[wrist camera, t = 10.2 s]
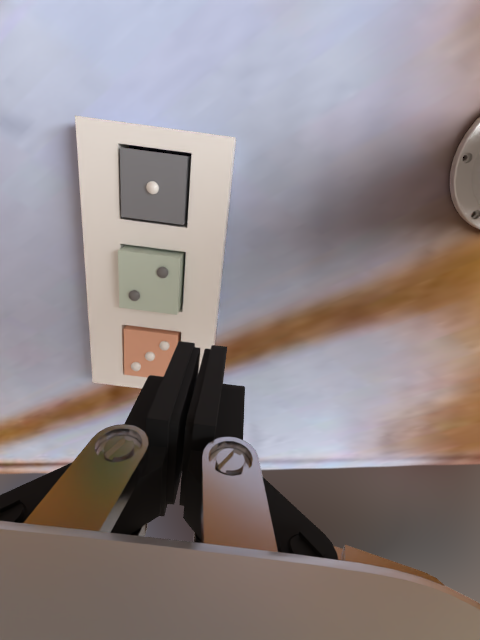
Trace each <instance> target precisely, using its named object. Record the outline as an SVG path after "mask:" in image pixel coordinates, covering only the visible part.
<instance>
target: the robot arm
mask: <svg viewBox="0 0 480 640" xmlns="http://www.w3.org/2000/svg"><path fill="white" fill-rule="evenodd" d="M463 156H465V158H464V160H463ZM450 192H451V198H452V201H453V203H454V206H455V208H456V210H457V212H458V213H459V214H460V216H461V217H462V218H463V219H464V220H465V221H466V222H467V223H469V224H470V225H471V226H473V227H475V228H477V229H479V230H480V117H479V118H478V119H477V120H476V121H475V122H474V123H473V125H472V126H471V127H470V129H469V130H468V131H467V132H466V134H465V136H464V137H463V139H462V141H461V143H460V144H459V146H458V148H457V151H456V154H455V156H454V159H453V162H452V167H451V172H450ZM472 213H473V214H472ZM471 214H472V215H471ZM226 352H227V347H223V346H215V345H212V346H211V349H206V348H205V350H204V354H203V358H202V362H201V365H200V369H199V360H200V348H198V347H195V343H191V342H183V341H179V342H178V344H177V346H176V349H175V351H174V353H173V356H172V358H171V361H170V363H169V365H168V368H167V370H166V372H165V375H164V377H162V376H154V375H150V376H148V378H147V380H146V382H145V384H144V386H143V388H142V390H141V392H140V394H139V396H138V398H137V400H136V402H135V404H134V406H133V408H132V410H131V412H130V414H129V416H128V418H127V420H126V422H125V424H123V425H114V426H111V427H108V428H106V429H104V430H102V431H100V432H99V433H97V434H96V435H95V436H94V437H93V438H92V439H91V441H90V442H89V443H88V444H87V446H86V447H85V448H84V449H83V450H82V452H81V453H80V454H79V455H78V457H77V458H76V459H75V460H74V461H73V462H72V463H70V464H68V465H66V466H64V467H61V468H59V469H57V470H55V471H53V472H50V473H48V474H46V475H44V476H42V477H39V478H37V479H35V480H33V481H31V482H29V483H26V484H24V485H22V486H20V487H17V488H15V489H13V490H11V491H9V492H7V493H4V494H2V495H0V640H480V603H478V602H476V601H475V600H473V599H471V598H469V597H467V596H465V595H463V594H461V593H458V592H456V591H455V590H452V589H451V588H449V587H447V586H445V585H444V584H442V583H441V582H440V581H439V580H438V579H437V578H435V577H433V576H431V575H429V574H427V573H425V572H422V571H419V570H416V569H414V568H411V567H408V566H405V565H402V564H399V563H396V562H393V561H390V560H388V559H384V558H382V557H379V556H376V555H373V554H370V553H367V552H364V551H362V550H358V549H356V548H353V547H350V546H347V545H345V546H344V549H341V548H338V547H335V546H333V544H332V543H331V542H330V540H329V539H328V538H327V537H326V535H325V534H324V533H323V532H321V531H320V530H319V529H318V528H317V527H316V526H315V525H314V524H313V523H312V522H311V521H309V520H308V519H307V518H306V517H305V516H304V515H303V514H302V513H301V512H300V511H299V510H297V508H296V507H294V506H293V505H292V504H291V503H290V502H289V501H288V500H287V499H286V498H285V497H284V496H283V495H282V494H280V493H279V492H278V491H277V490H276V489H275V488H274V487H273V486H272V485H271V484H270V483H269V482H268V481H266V480H265V479H264V478H263V477H262V472H261V468H260V463H259V458H258V455H257V453H256V450H255V449H254V448H253V447H252V446H251V445H250V444H249V443H247V442H246V441H244V440H243V423H244V396H245V387H244V386H236V385H228V384H223V377H224V369H225V360H226ZM198 372H199V373H198ZM181 473H182V478H181V492H180V505H183V506H184V517H183V518H184V519H185V521H186V522H187V523H188V524H189V526H190V527H191V528H192V530H193V531H194V532H195V533H194V542H187V541H179V540H170V539H161V538H152V537H144V536H145V533H146V530H147V523H149V522H150V521H152V520H153V519H155V518H156V517H158V516H164V515H165V511H166V507H167V504H174V503H175V499H176V494H177V490H178V486H179V482H180V477H181Z"/></svg>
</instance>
